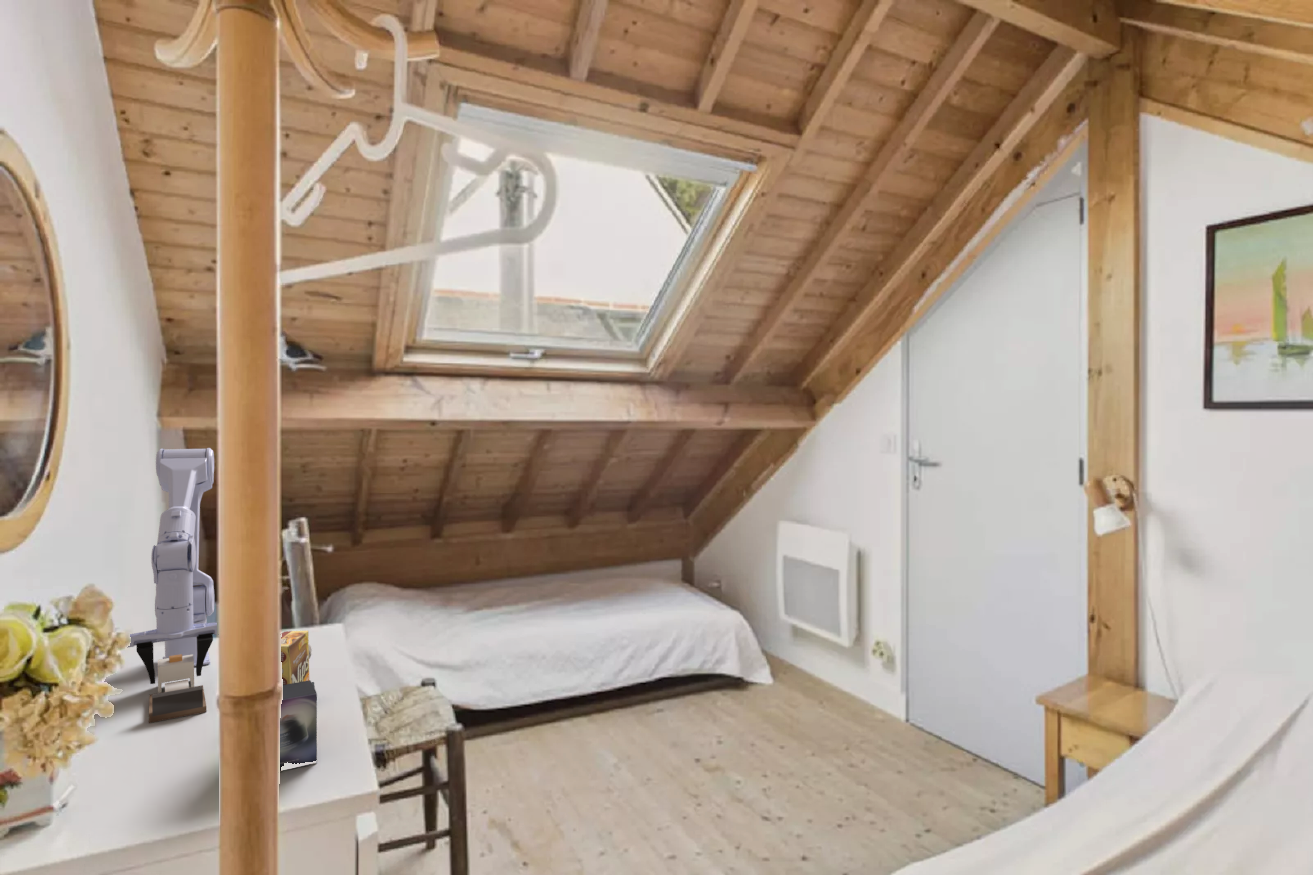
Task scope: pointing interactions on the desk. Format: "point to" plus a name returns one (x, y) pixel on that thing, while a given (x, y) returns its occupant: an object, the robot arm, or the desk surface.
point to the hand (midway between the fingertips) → (176, 678)
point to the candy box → (295, 656)
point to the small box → (298, 723)
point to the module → (175, 669)
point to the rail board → (176, 701)
